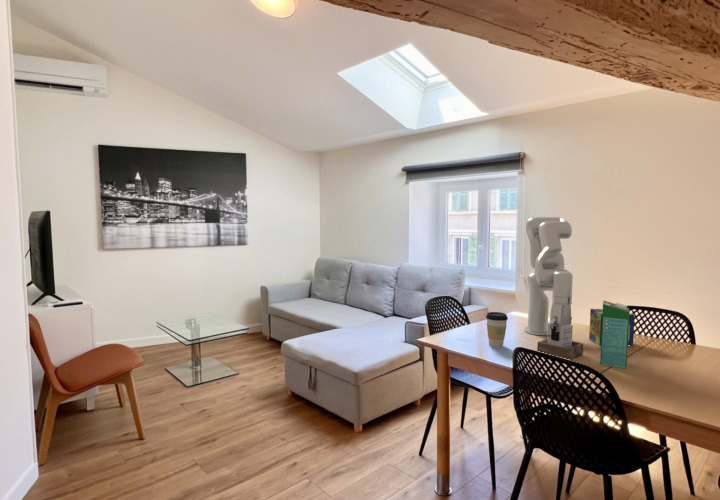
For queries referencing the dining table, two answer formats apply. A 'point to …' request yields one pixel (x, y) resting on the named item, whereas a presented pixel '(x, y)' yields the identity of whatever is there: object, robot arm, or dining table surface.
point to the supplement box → (561, 336)
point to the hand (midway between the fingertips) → (560, 338)
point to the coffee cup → (496, 328)
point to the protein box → (596, 326)
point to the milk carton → (614, 334)
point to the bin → (561, 349)
